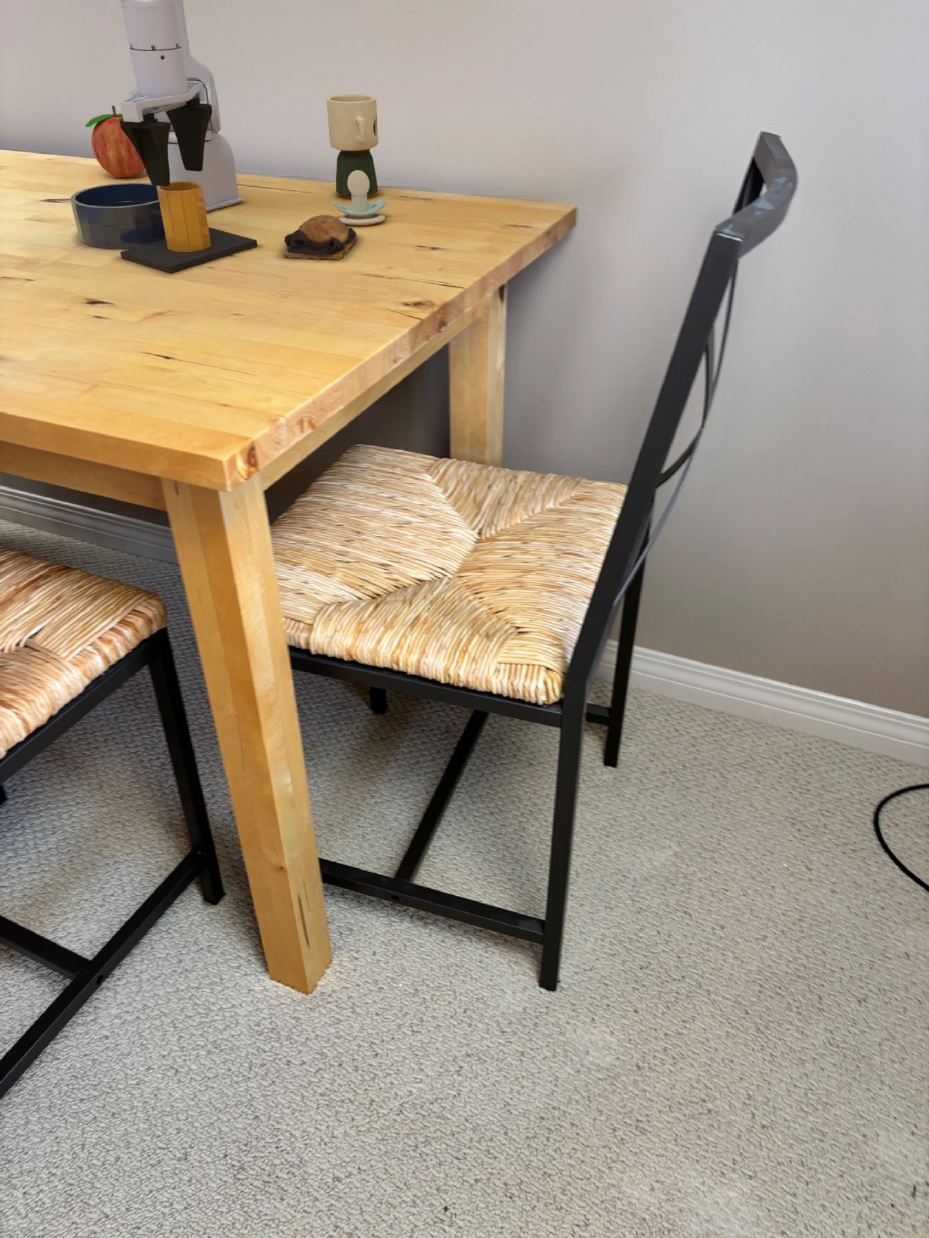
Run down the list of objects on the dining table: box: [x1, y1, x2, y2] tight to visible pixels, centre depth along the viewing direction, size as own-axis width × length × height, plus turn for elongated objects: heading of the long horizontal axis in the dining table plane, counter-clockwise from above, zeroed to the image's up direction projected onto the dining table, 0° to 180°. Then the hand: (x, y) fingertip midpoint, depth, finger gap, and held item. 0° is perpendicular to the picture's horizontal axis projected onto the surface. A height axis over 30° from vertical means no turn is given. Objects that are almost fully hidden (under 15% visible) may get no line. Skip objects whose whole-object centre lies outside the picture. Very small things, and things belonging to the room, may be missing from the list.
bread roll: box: [283, 214, 358, 261], centre depth 120 cm, size 11×8×4 cm
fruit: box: [84, 105, 146, 178], centre depth 147 cm, size 9×10×10 cm
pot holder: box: [119, 226, 258, 274], centre depth 119 cm, size 14×10×1 cm
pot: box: [70, 182, 166, 250], centre depth 123 cm, size 13×13×5 cm
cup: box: [157, 181, 211, 252], centre depth 116 cm, size 5×6×7 cm
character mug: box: [326, 93, 379, 196], centre depth 137 cm, size 11×7×13 cm, turn 22°
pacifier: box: [332, 170, 387, 226], centre depth 128 cm, size 7×6×6 cm
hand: (177, 177), depth 114 cm, fingers open, 7 cm apart
